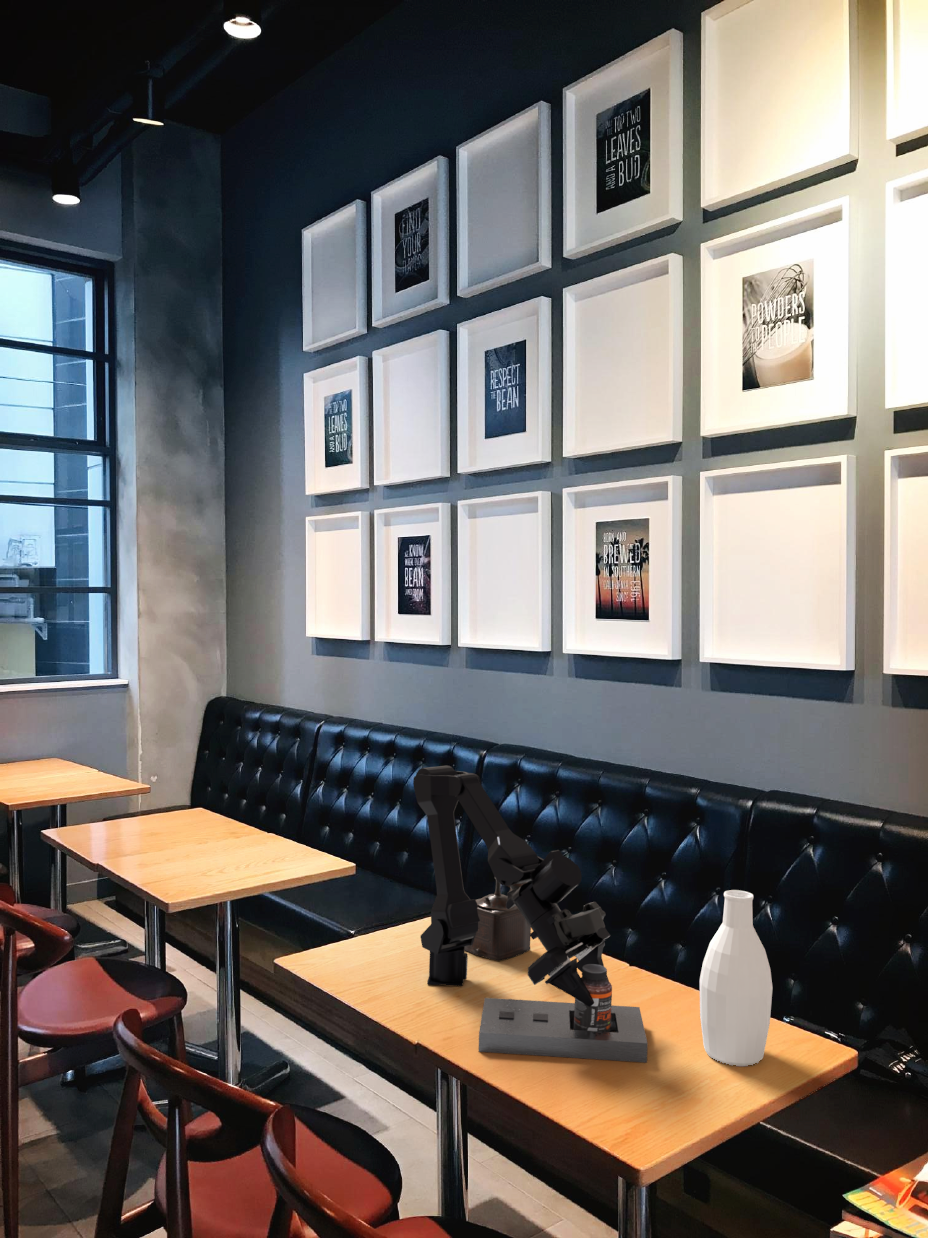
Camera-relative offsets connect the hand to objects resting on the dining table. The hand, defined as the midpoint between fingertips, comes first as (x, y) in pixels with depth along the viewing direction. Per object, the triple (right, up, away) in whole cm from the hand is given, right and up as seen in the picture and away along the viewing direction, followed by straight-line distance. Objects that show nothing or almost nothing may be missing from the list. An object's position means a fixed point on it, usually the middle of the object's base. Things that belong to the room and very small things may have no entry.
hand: (601, 999), depth 161 cm
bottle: (+20, -8, -3) cm, 22 cm away
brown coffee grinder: (-14, -6, +40) cm, 43 cm away
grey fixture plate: (-6, -7, +1) cm, 9 cm away
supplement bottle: (-1, -7, +1) cm, 7 cm away
